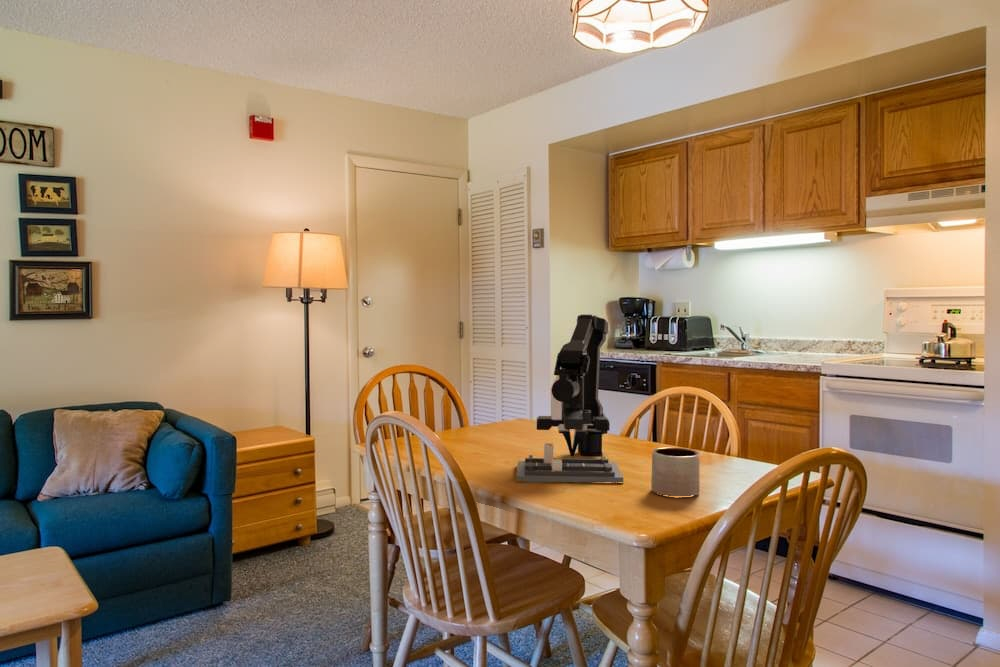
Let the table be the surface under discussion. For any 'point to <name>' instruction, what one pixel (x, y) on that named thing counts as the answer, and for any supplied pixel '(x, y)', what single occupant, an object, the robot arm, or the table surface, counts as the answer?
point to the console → (568, 470)
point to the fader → (548, 452)
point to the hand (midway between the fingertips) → (572, 456)
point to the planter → (675, 471)
